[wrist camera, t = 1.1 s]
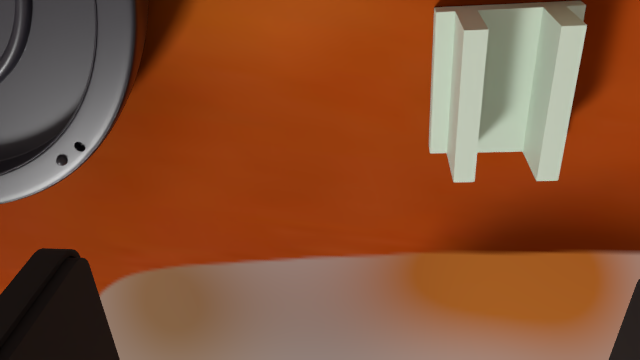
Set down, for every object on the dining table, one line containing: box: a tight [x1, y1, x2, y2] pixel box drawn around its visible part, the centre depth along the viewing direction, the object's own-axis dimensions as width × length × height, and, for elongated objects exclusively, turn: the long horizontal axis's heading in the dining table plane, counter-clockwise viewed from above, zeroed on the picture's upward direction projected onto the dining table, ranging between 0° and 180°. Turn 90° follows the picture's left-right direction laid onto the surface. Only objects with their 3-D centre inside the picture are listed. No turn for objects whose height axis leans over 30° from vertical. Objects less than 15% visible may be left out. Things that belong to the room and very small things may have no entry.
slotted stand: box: [429, 0, 587, 182], centre depth 32 cm, size 9×8×4 cm
